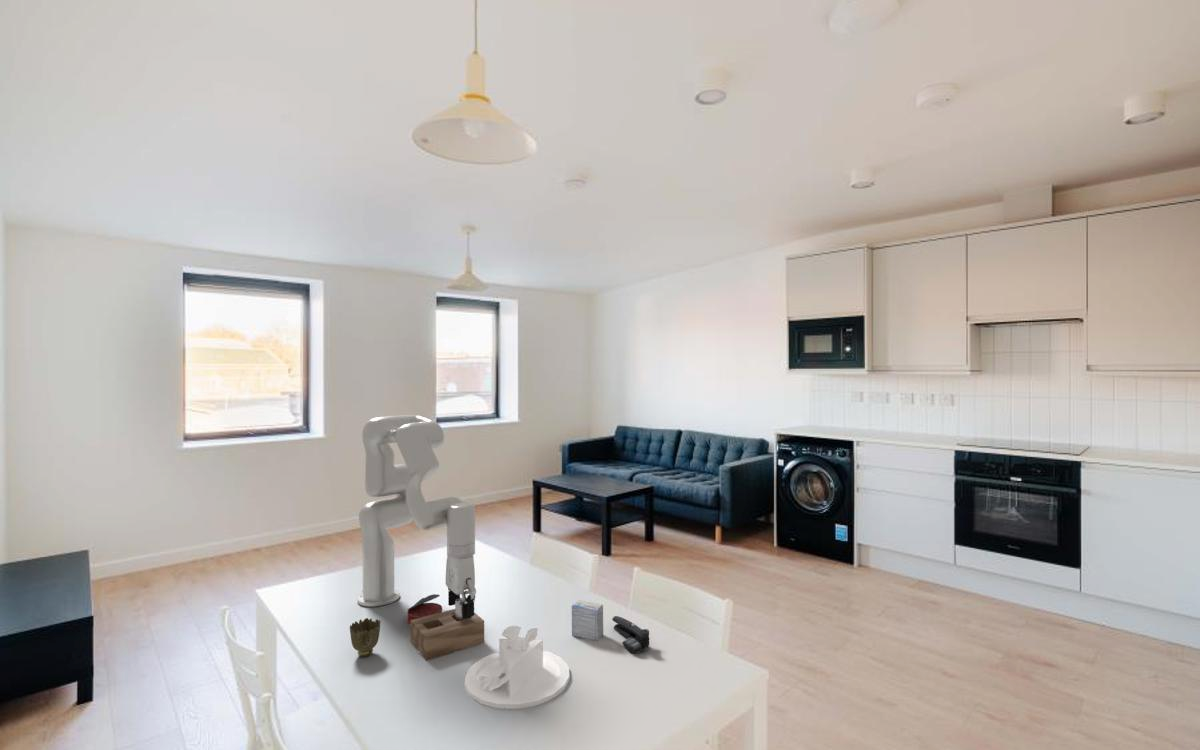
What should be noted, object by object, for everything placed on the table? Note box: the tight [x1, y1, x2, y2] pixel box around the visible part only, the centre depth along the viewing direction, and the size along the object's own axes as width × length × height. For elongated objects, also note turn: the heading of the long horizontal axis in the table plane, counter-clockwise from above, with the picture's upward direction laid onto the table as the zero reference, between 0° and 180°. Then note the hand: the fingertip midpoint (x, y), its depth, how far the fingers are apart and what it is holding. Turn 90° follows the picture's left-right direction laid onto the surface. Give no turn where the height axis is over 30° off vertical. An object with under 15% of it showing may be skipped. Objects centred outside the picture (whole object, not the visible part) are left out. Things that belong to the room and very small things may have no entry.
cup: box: [349, 617, 381, 658], centre depth 148 cm, size 8×7×8 cm
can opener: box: [611, 615, 650, 654], centre depth 156 cm, size 18×7×6 cm, turn 24°
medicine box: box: [571, 599, 604, 642], centre depth 159 cm, size 8×4×9 cm, turn 65°
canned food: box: [406, 593, 443, 626], centre depth 169 cm, size 11×10×10 cm
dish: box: [463, 625, 571, 710], centre depth 137 cm, size 25×25×11 cm
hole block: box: [410, 608, 485, 661], centre depth 155 cm, size 12×16×6 cm
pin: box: [454, 597, 467, 621], centre depth 157 cm, size 3×3×9 cm
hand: (461, 610), depth 157 cm, fingers open, 9 cm apart
